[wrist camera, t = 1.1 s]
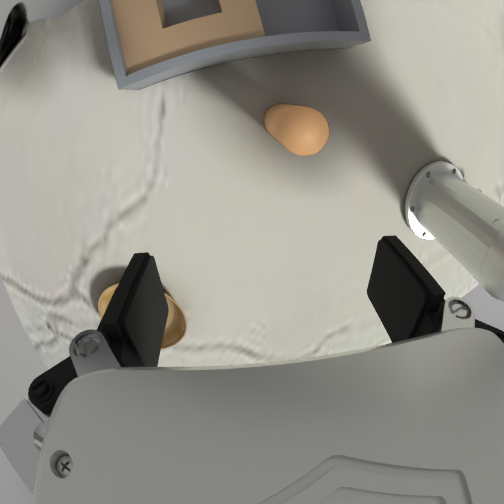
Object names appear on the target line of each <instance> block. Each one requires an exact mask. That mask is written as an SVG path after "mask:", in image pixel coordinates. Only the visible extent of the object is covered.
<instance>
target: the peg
mask: <svg viewBox="0 0 504 504" xmlns="http://www.w3.org/2000/svg"><path fill="white" fill-rule="evenodd" d="M264 124H265V127H266V129H267V131H268V132H269V133H270V134H271V135H272V136H274V137H275V138H276V139H277V140H278V141H279V142H280V143H281V144H282V145H283V146H285V147H286V148H287V149H288V150H289V151H290V152H292V153H294V154H297V155H301V156H308V155H312V154H315V153H317V152H318V151H320V150H321V149H322V148H323V147H324V146H325V144H326V142H327V140H328V137H329V126H328V123H327V121H326V119H325V117H324V116H323V115H322V114H321V113H320V112H319V111H317V110H315V109H313V108H310V107H304V106H297V105H289V104H276V105H274V106H272V107H271V108H269V109H268V111H267V112H266V114H265V117H264Z"/></svg>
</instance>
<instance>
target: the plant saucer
mask: <svg viewBox="0 0 504 504" xmlns="http://www.w3.org/2000/svg"><path fill="white" fill-rule="evenodd" d="M118 285H119V283H118V284H114V285H112V286H110V287H108V288H107V289H105V290H104V291H103V292H102V294H101V296H100V298H99V300H98V311H99V315H100V318H101V319H102V317H103V315H104V313H105V310H106V308H107V306H108V304H109V302H110V300H111V298H112V295H113V293H114V291H115V289H116V288H117V286H118ZM164 294H165V297H166V300H167V303H168V308H169V313H168V318H167V322H166V327H165V331H164V336H163V340H162V345H161V349H166V348H169V347H172V346H174V345H176V344H177V343H179V342H180V341H181V340H182V339H183V337H184V336H185V334H186V331H187V319H186V316H185V314H184V312H183V310H182V309H181V307H180V306H179V305H178V304H177V302H176V301H175V300H174V299H173V298H172V297H171V296H169V295H168V294H167V293H165V292H164Z"/></svg>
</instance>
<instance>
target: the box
mask: <svg viewBox="0 0 504 504" xmlns="http://www.w3.org/2000/svg"><path fill="white" fill-rule="evenodd" d="M99 3H100V9H101V15H102V20H103V25H104V30H105V35H106V40H107V45H108V49H109V53H110V58H111V62H112V66H113V70H114V74H115V78H116V82H117V85H118V89H119V90H140V89H142V88H145V87H148V86H150V85H153V84H156V83H158V82H161V81H164V80H167V79H170V78H173V77H176V76H179V75H182V74H185V73H189V72H192V71H195V70H199V69H203V68H206V67H210V66H214V65H218V64H222V63H227V62H231V61H236V60H241V59H246V58H251V57H257V56H263V55H269V54H276V53H283V52H292V51H302V50H315V49H335V48H350V47H353V46H356V45H359V44H362V43H366V42H369V41H371V39H370V35H369V31H368V27H367V23H366V19H365V16H364V12H363V9H362V6H361V3H360V0H99Z"/></svg>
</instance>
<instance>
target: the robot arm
mask: <svg viewBox="0 0 504 504" xmlns="http://www.w3.org/2000/svg"><path fill="white" fill-rule="evenodd" d="M405 217H406V221H407V224H408V225H409V228H410V229H411V230H412V231H413V232H414V233H415V234H416V235H417V236H418V237H420V238H423V239H436V240H437V241H438V242H439V243H440V244H441V245H442V246H443V247H444V248H445V249H447V250H448V251H449V252H450V253H451V254H452V255H453V256H454V257H455V258H456V259H457V260H458V261H459V262H460V263H461V264H462V265H463V266H464V267H465V269H466V270H467V271H468V272H469V273H470V274H471V275H472V276H473V277H474V278H475V279H476V280H477V281H478V282H479V284H480V285H481V286H482V287H483V288H484V289H485V290H486V291H487V292H488V293H489V294H490V295H491V296H492V297H494V298H496V299H498V300H501V301H504V207H503V206H501V205H500V204H498V203H497V202H495V201H494V200H492V199H491V198H489V197H488V196H486V195H485V194H483V193H482V191H481V190H480V189H475V188H473V187H472V186H470V185H468V184H466V183H465V182H464V178H463V176H462V174H461V172H460V171H459V170H458V168H457V167H455V166H454V165H452V164H450V163H448V162H445V161H435V162H433V163H430V164H428V165H427V166H425V167H424V168H423V169H422V170H421V171H420V172H419V173H418V174H417V175H416V177H415V178H414V179H413V181H412V183H411V185H410V187H409V190H408V193H407V196H406V201H405ZM367 295H368V297H369V299H370V301H371V303H372V305H373V307H374V308H375V310H376V312H377V314H378V316H379V318H380V320H381V321H382V323H383V325H384V327H385V329H386V331H387V333H388V335H389V337H390V339H391V341H392V343H390V344H386V345H381V346H376V347H371V348H366V349H361V350H356V351H350V352H344V353H339V354H332V355H326V356H319V357H312V358H305V359H297V360H288V361H279V362H269V363H257V364H244V365H228V366H201V367H157V365H158V360H159V355H160V350H161V345H162V340H163V336H164V331H165V327H166V322H167V318H168V313H169V308H168V303H167V300H166V297H165V294H164V290H163V287H162V284H161V280H160V277H159V273H158V270H157V266H156V262H155V259H154V257H153V256H150V255H149V253H148V252H147V253H135V254H134V255H133V257H132V259H131V261H130V263H129V265H128V267H127V269H126V270H125V272H124V274H123V276H122V278H121V280H120V282H119V285H118V286H117V288H116V289H115V291H114V293H113V295H112V298H111V300H110V302H109V304H108V306H107V308H106V310H105V313H104V315H103V317H102V319H101V322H100V324H99V326H98V329H97V330H92V329H91V330H86V331H83V332H81V333H79V334H78V335H76V337H75V338H74V339H73V340H72V342H71V344H70V347H69V353H70V357H68V358H66V359H65V360H63V361H62V362H60V363H58V364H57V365H55V366H54V367H52V368H51V369H49V370H47V371H46V372H44V373H43V374H41V375H40V376H38V377H37V378H36V379H34V381H33V382H32V383H31V385H30V387H29V392H28V396H29V399H28V400H25V399H23V400H22V402H20V404H19V405H18V406H17V407H16V408H15V409H14V410H13V411H12V413H11V414H10V415H9V416H8V417H7V418H6V420H5V421H4V422H3V423H2V424H1V426H0V446H1V448H2V450H3V451H4V453H5V455H6V456H7V458H8V459H9V461H10V463H11V464H12V466H13V467H14V468H15V470H16V471H17V473H18V474H19V476H20V477H21V478H22V480H23V481H24V483H25V484H26V485H27V486H28V488H29V489H30V491H31V492H32V493H33V494H34V497H33V504H504V332H503V331H501V330H499V329H497V328H495V327H492V326H490V325H487V324H485V323H483V322H481V321H478V320H476V319H475V313H474V310H473V308H472V306H471V305H470V304H469V303H468V302H467V301H465V300H464V299H462V298H459V297H450V298H448V299H447V300H446V301H445V299H444V295H445V292H444V290H443V289H442V288H441V287H440V285H439V284H438V283H437V282H436V281H435V279H434V278H433V277H432V276H431V275H430V273H429V272H428V271H427V270H426V269H425V267H424V266H423V265H422V264H421V263H420V262H419V261H418V259H417V258H416V257H415V256H414V255H413V254H412V253H411V252H410V250H409V249H408V248H407V247H406V246H405V245H404V244H403V243H402V242H401V241H400V240H399V239H398V238H397V237H396V236H383V237H382V239H381V240H379V241H378V245H377V250H376V254H375V259H374V263H373V268H372V272H371V276H370V280H369V284H368V288H367Z"/></svg>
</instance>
